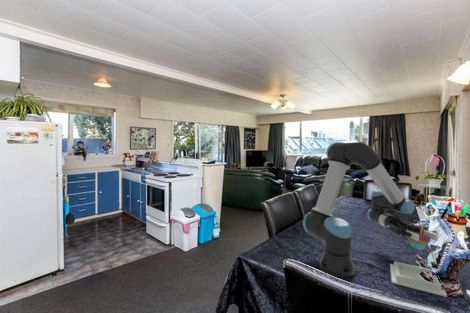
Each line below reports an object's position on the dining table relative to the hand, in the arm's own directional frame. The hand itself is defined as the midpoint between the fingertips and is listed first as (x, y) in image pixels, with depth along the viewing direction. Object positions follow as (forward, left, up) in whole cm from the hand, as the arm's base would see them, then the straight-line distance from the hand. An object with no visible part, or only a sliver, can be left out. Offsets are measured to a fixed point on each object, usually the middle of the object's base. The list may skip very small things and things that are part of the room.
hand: (427, 237), depth 105 cm
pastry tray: (-4, -5, -18) cm, 19 cm away
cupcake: (-3, +4, -7) cm, 8 cm away
